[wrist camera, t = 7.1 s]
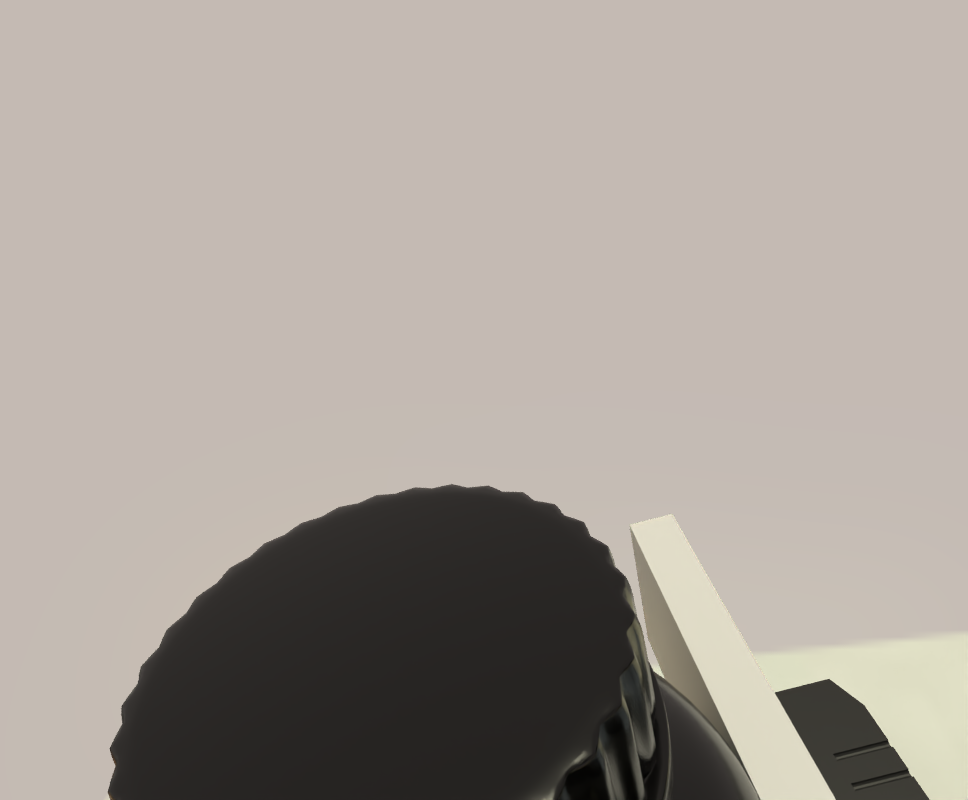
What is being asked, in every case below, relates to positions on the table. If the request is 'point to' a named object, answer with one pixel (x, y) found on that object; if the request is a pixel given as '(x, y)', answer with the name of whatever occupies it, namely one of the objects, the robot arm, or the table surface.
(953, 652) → the table surface
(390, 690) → the supplement bottle
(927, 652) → the table surface
